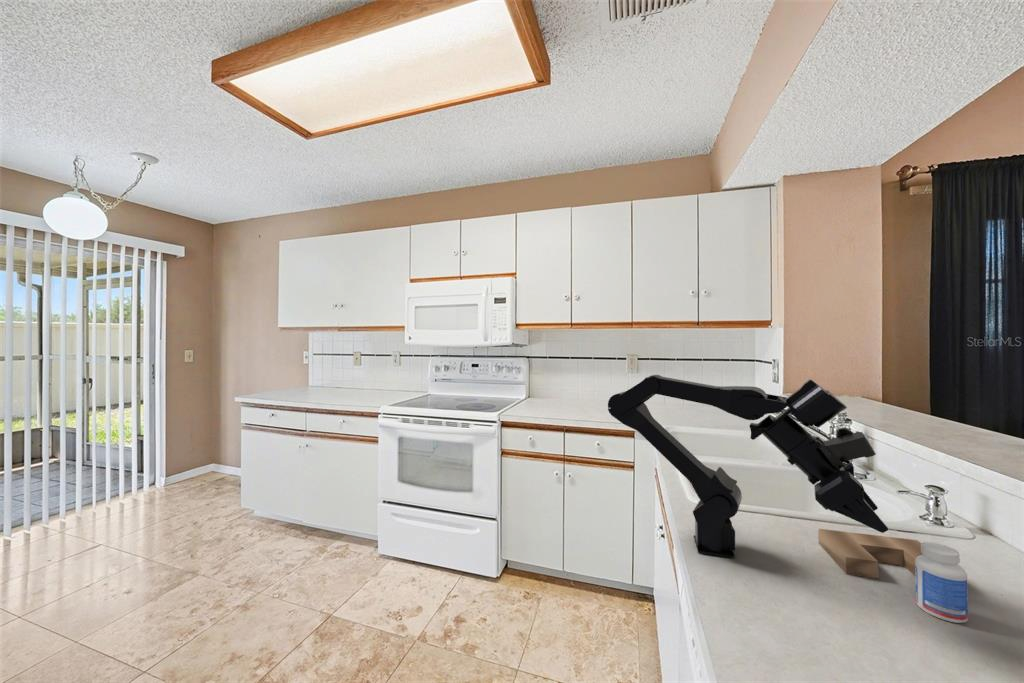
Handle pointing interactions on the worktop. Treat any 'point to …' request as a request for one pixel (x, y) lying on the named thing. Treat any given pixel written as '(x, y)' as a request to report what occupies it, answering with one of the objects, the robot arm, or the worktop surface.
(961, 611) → the pill bottle
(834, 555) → the notched board
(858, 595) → the worktop surface
